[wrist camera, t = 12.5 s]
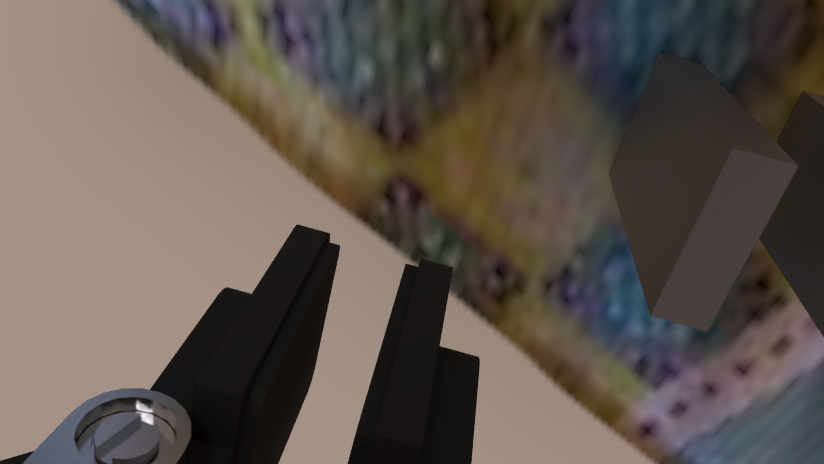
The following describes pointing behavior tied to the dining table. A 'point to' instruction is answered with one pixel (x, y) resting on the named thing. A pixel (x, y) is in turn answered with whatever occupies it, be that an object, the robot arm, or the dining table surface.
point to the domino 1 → (694, 189)
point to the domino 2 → (802, 208)
